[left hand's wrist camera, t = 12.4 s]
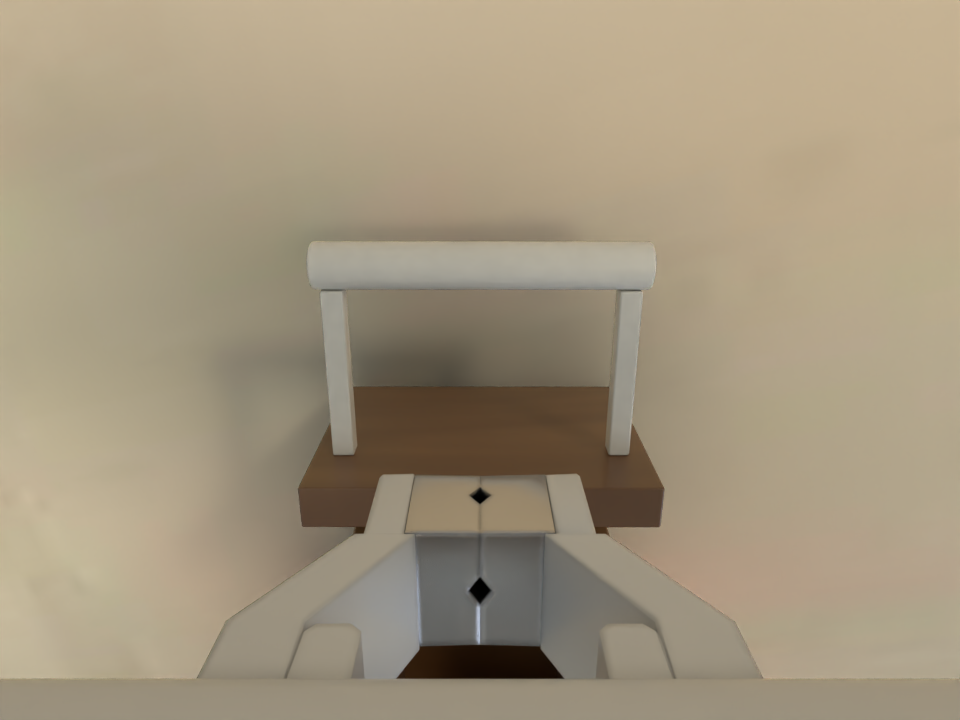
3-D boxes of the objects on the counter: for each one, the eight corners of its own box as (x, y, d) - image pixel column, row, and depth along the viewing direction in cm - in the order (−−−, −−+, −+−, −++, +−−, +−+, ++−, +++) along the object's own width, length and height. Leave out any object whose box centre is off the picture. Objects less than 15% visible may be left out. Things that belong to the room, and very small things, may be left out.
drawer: (334, 214, 22) (272, 257, 15) (627, 215, 22) (690, 257, 15) (377, 790, 31) (349, 971, 24) (584, 790, 31) (611, 971, 24)
